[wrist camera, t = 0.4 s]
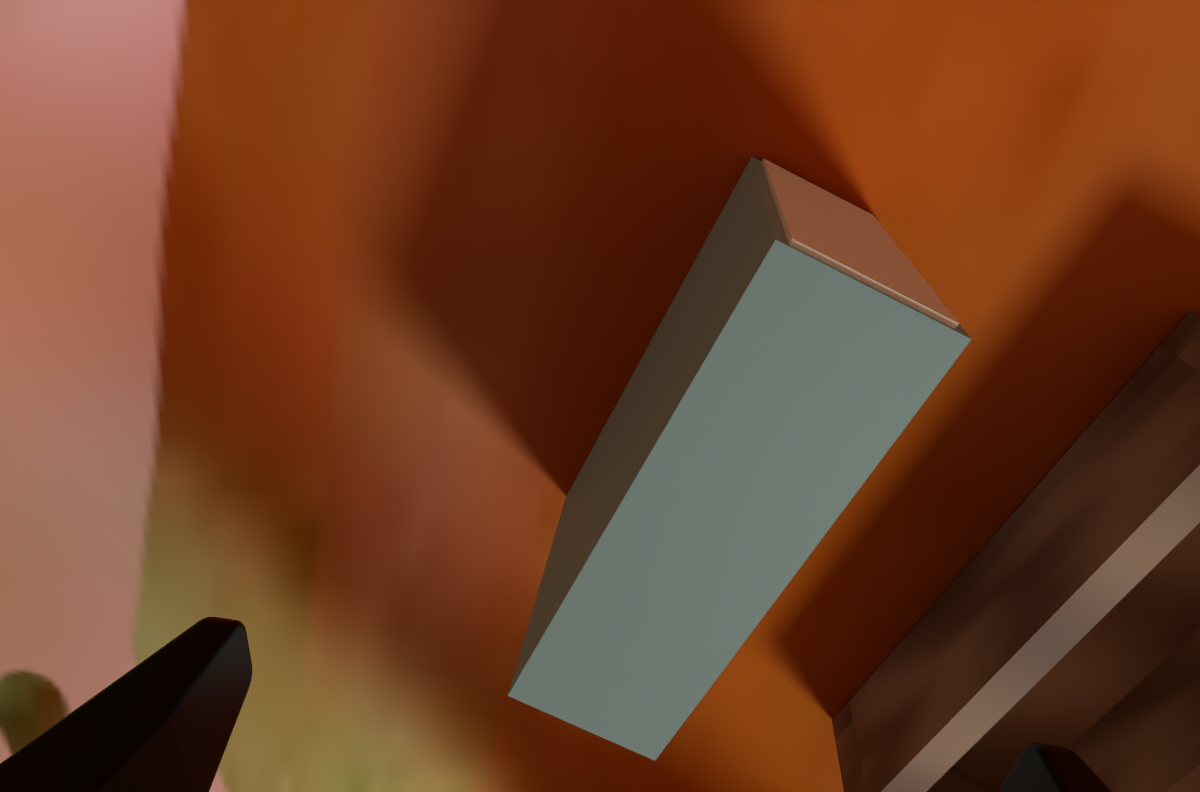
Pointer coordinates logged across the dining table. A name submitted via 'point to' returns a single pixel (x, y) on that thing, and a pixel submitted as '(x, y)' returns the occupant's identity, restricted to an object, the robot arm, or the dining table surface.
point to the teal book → (729, 455)
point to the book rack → (1063, 618)
